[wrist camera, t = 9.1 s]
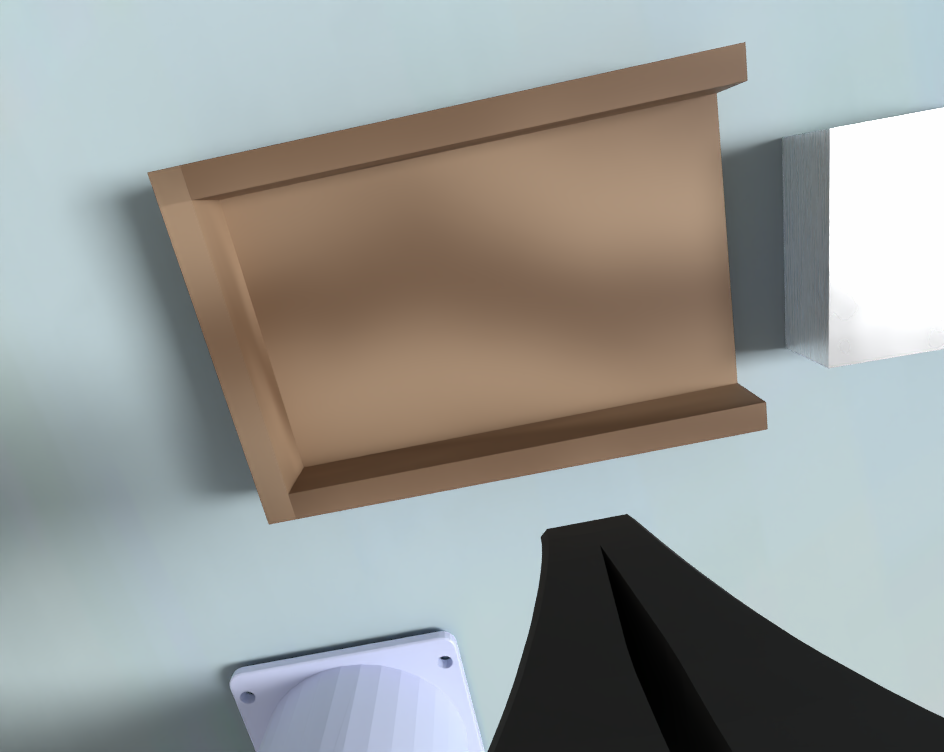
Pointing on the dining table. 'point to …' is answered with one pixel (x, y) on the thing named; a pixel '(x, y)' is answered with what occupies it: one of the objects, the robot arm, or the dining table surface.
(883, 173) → the cover plate
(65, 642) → the dining table surface
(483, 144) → the wooden box
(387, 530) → the dining table surface
